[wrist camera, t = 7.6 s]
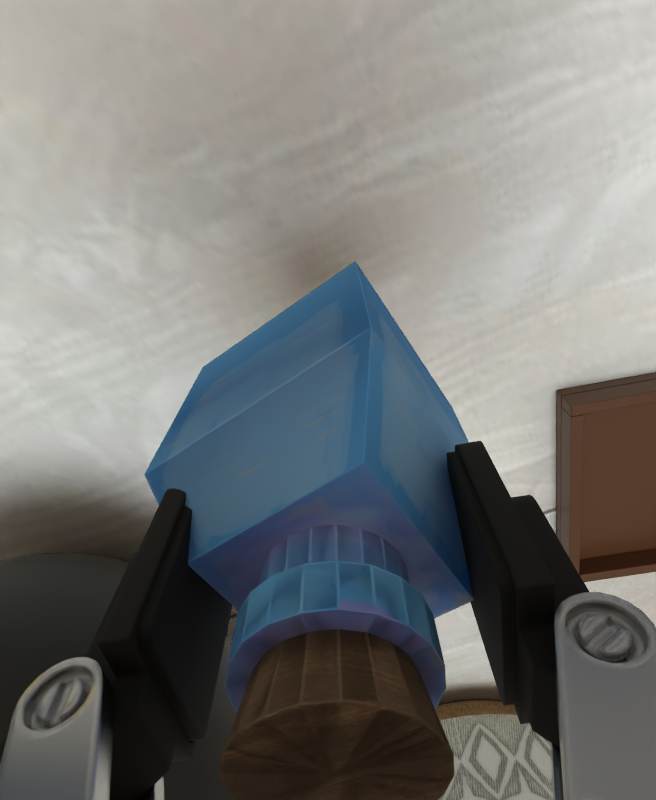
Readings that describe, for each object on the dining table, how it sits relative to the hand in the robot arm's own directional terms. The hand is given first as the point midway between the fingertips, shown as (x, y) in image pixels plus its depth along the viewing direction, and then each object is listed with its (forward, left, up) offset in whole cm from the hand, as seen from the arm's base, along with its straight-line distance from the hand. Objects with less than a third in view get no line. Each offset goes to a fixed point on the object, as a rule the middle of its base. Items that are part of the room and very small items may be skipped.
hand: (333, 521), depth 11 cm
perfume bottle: (0, 0, -7) cm, 7 cm away
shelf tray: (+18, +20, -21) cm, 34 cm away
